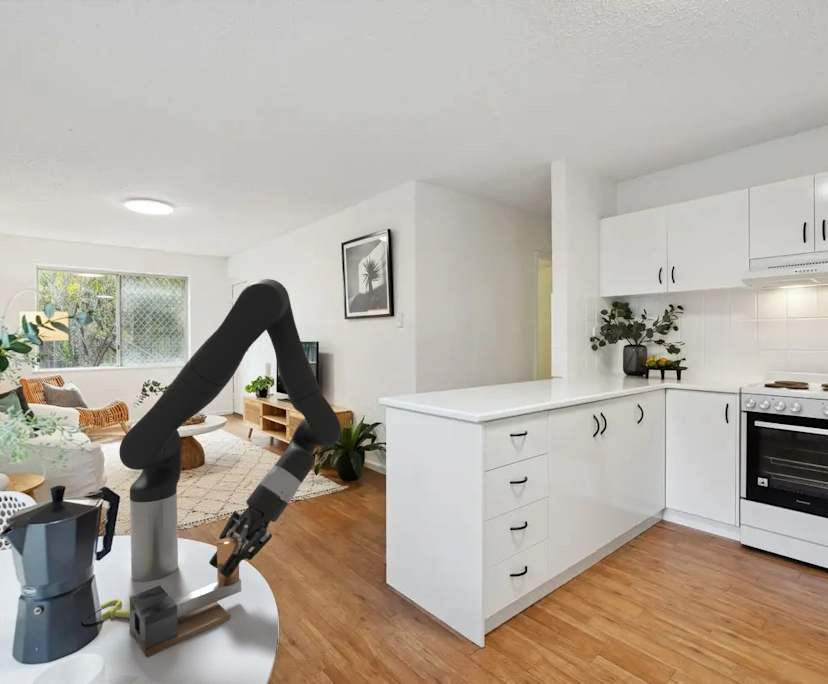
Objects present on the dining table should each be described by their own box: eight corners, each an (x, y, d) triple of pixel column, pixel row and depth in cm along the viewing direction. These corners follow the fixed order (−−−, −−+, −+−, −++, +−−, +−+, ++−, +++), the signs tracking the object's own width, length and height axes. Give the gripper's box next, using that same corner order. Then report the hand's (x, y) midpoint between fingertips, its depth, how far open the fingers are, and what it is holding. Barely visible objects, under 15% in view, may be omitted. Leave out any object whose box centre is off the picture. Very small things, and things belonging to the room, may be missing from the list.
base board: (129, 630, 83) (129, 625, 83) (208, 598, 93) (208, 593, 93) (146, 657, 76) (146, 651, 76) (229, 619, 86) (229, 614, 86)
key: (144, 625, 86) (143, 613, 86) (75, 628, 85) (74, 616, 85) (163, 602, 93) (162, 592, 93) (99, 605, 92) (99, 594, 92)
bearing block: (130, 626, 83) (129, 596, 83) (160, 614, 87) (160, 585, 87) (145, 650, 77) (144, 617, 77) (177, 636, 80) (176, 604, 80)
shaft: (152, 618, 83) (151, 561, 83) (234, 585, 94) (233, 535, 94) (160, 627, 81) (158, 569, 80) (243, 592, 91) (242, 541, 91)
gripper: (246, 476, 101) (189, 549, 93) (279, 491, 91) (219, 575, 83) (269, 494, 105) (217, 566, 97) (303, 510, 95) (248, 592, 87)
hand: (218, 570), depth 90 cm, fingers open, 4 cm apart
